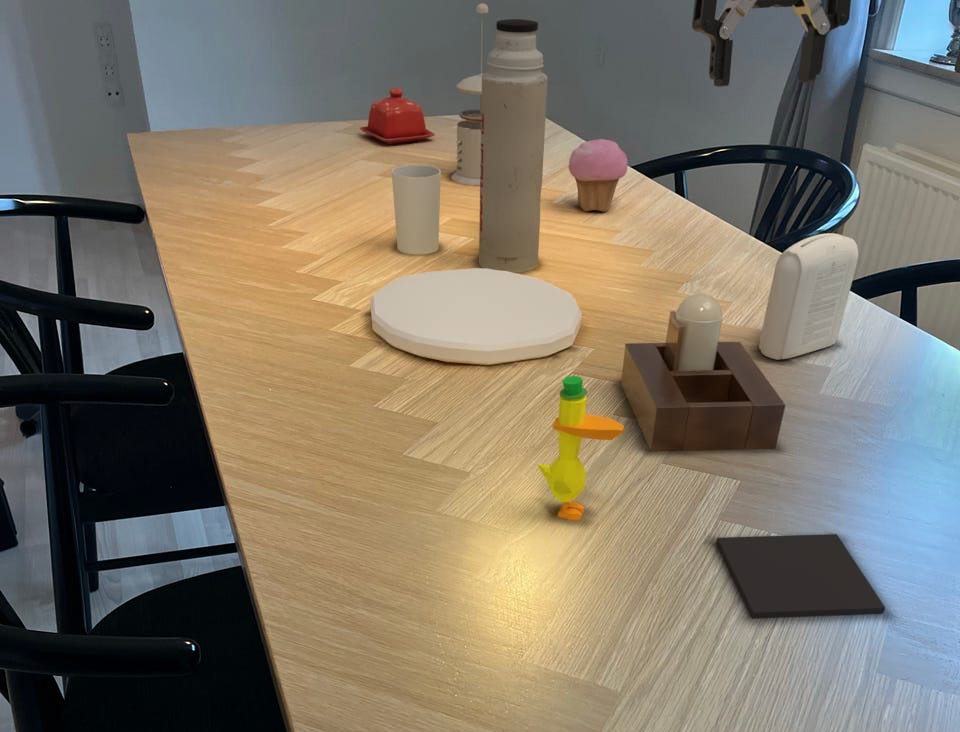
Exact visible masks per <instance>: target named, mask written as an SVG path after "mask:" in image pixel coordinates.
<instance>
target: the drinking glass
mask: <svg viewBox="0 0 960 732" xmlns="http://www.w3.org/2000/svg"><path fill="white" fill-rule="evenodd" d="M441 177H442V170H441V169H440V168H438V167H436V166H433V165H426V164H404V165H400V166H395V167H393V168H391V180H392V181H391V182H392V183H391V184H392V195H393V205H394V206H393V208H394V218H395V219H394V221H395V232H396V233H395V234H396V244H397V245H396V246H397V250H398V251H399V252H401V253H404V254H407V255H427V254H432V253H435V252H437V251H438V250H439V243H440V242H439V240H440V239H439V238H440V212H441V210H440V208H441V207H440V206H441V181H442V178H441Z"/></svg>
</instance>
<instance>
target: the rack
mask: <svg viewBox="0 0 960 732" xmlns="http://www.w3.org/2000/svg"><path fill="white" fill-rule="evenodd" d="M665 345H666V342H634V343H633V342H632V343H631V342H630V343H628V342H627V343H625V345H624V352H623V353H624V355H623V361H622V371H621V379H620V386H621V388H622V390H623V392H624V394H625V397H626V399H627V401H628V403H629V406H630V408H631V411H632V413H633V414H634V417H635V419H636V421H637V424H638V426H639V428H640V430H641V433H642V435H643V437H644V439H645V442H646V444H647V446H648V449H649V451H650V452H653V453H657V452H658V453H659V452H692V451H693V452H694V451H695V452H697V451H734V450H735V451H736V450H737V451H738V450H739V451H740V450H775V449H776V448H777V443H778V439H779V435H780V431H781V426H782V422H783V418H784V413H785V409H786V403H785V402H784V401H783V399H782V398H781V396H780V395H779V394H778V393H777V391H776V390H775V388H774V387H773V385H772V384H771V383H770V381H769V380H768V379H767V377H766V376H765V374H764V373H763V372H762V370H761V369H760V368H759V366H758V365H757V364H756V362H755V360H754V359H753V358H752V357H751V355H750V353H749V352H748V351H747V350H746V348H745V347H744V345H743V344H742V342H741V341H718V346H717V352H716V358H715V364H714V369H713V370H702V371H669V369H668V368H667V366H666V364H665V362H664V360H663V359H664V352H665Z"/></svg>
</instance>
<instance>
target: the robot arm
mask: <svg viewBox="0 0 960 732" xmlns="http://www.w3.org/2000/svg"><path fill="white" fill-rule="evenodd" d="M822 4H823V1H822V0H727V1H726V2H725V3H724V5H723V8H722V11H721V13H720V14H719V15H718V17H717V18H716V12H717V5H718V0H694V5H693V13H692V21H691V28H692V30H693V31H695V32H696V33H701V34H703V35H705V36H707V37H708V38H709V40H710V53H709V67H708V75H709V79H710V80H713V85H714V87H721V88H722V87H728V86H729V84H730V78H731V68H732V67H731V66H732V57H733V45H734V40H733V39H730V38H731V36H732V34H733V33H734V31H735V30H736V29H737V27H738V26H739V24H740V23H741V22H742V20H743V19H744V18H745V17H746V16H748V14H749V13H750V12H751V10H752V9H765V8H766V9H767V8H771V7H773V8H790V7H791V8H792V11H793V12H794V13H795V14H796V15H797V16H798V17H799V20H800V21H801V23H802V25H803V27H804V29H805V31H806V36H803V37H802V43H801V52H800V61H799V68H798V82H800V83H814V82H815V80H816V77H817V76H819V75H820V74H821V71H822V68H823V61H824V54H825V45H826V40H827V39H826V38H827V35H828V34H829V33H830V32H831V31H833V30H834V29H838V28H839V27H843V26H846V25H847V24H848V22H849V20H850V16H851V5H852V0H825V10H824V8H823V5H822Z"/></svg>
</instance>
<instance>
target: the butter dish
mask: <svg viewBox="0 0 960 732" xmlns="http://www.w3.org/2000/svg"><path fill="white" fill-rule="evenodd" d="M388 93H389V95H390V97H384V98H381V99H379V100H376V101H375V102H373V103H372V104H371V105H370V109H369V113H368V120H367V126H362V127H360V128H359V129H360V131H362V132H364V133H366V134H367V135H370V136H371V137H373V138H375V139H377V140H379V141H382V142H384V143H386V144H387V145H395V144H402V143H404V144H405V143H411V142H419V141H423V139H427V138H432V137H434V136H435V135H436V133H435V132H433V131H431V130H430V129H427V128H426V122H425V116H424V111H423V109H422V108H421V106H420V105H419V104H418V103H416V102H415V101H414V100H411V99H409V98H405V97H402V96H403V94H404V91H403V90H402V89H401V88H397V87H394V88H391V89H389V91H388Z"/></svg>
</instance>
